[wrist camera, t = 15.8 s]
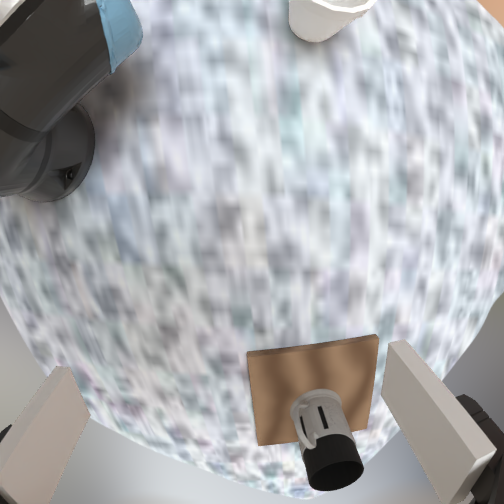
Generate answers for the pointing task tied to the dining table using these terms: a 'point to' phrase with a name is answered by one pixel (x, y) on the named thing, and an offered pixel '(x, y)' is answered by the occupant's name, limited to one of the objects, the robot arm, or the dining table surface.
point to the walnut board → (311, 383)
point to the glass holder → (325, 440)
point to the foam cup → (324, 16)
